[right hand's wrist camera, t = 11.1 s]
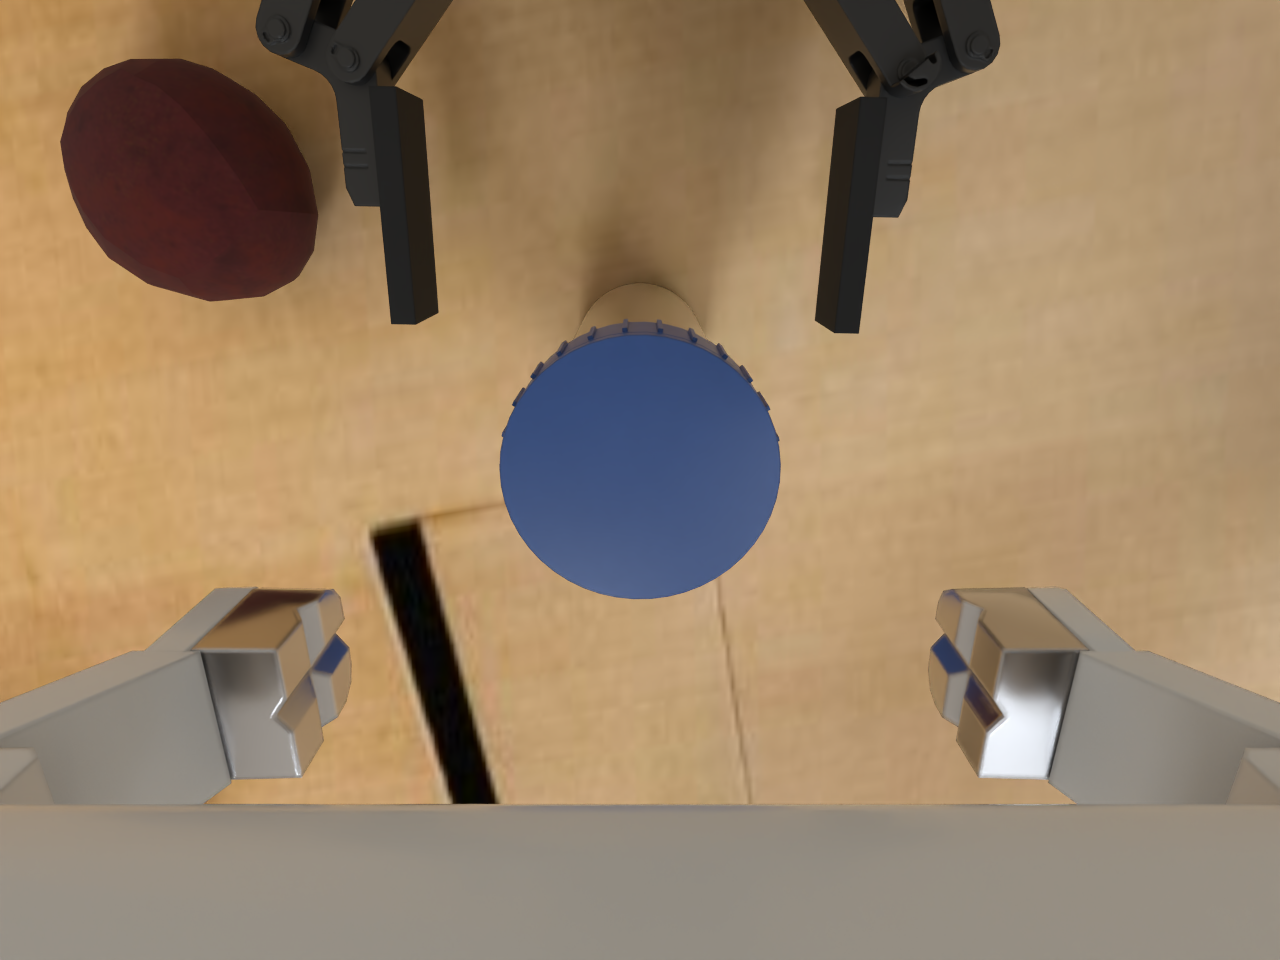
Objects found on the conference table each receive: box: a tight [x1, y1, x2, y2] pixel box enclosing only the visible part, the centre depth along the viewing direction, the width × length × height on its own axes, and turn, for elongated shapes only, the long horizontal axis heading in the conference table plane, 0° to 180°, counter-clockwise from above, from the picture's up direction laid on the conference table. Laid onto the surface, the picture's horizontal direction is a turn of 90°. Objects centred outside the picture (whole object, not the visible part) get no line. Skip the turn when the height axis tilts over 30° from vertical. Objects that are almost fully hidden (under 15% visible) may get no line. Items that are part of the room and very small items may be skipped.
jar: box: [573, 283, 707, 340], centre depth 23 cm, size 5×5×15 cm
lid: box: [500, 319, 781, 599], centre depth 17 cm, size 6×6×2 cm
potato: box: [60, 59, 318, 301], centre depth 25 cm, size 7×8×7 cm
